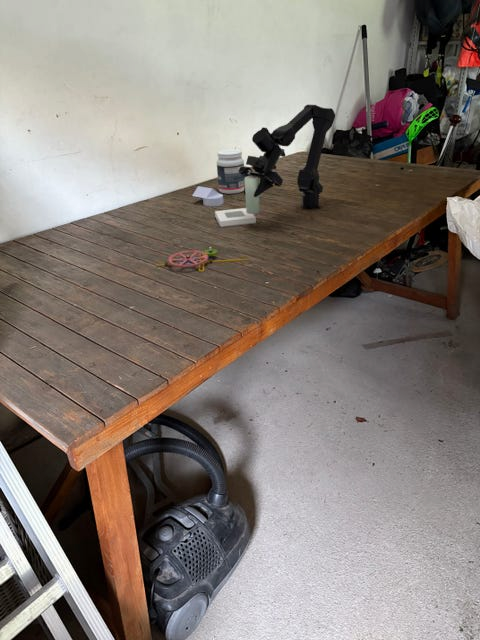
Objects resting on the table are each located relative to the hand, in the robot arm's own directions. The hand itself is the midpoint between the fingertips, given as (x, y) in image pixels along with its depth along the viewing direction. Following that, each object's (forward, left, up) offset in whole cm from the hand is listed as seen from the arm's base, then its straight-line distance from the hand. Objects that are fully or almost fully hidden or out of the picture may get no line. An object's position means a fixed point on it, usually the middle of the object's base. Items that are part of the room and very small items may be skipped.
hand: (249, 195), depth 187 cm
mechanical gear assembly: (+23, +29, -13) cm, 40 cm away
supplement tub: (-3, -56, -13) cm, 58 cm away
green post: (-1, -1, -7) cm, 7 cm away
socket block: (+4, -11, -12) cm, 17 cm away
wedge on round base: (+10, -40, -13) cm, 43 cm away
